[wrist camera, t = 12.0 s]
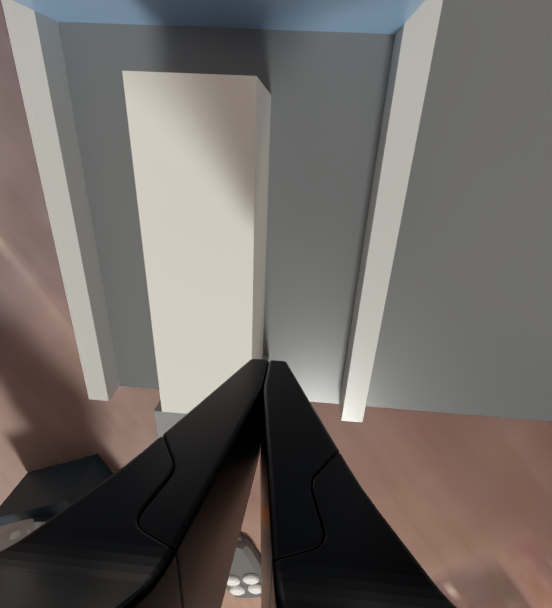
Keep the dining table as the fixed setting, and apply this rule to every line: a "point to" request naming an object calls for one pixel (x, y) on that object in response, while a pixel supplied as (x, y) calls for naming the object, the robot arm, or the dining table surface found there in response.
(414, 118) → the grey rimmed tray
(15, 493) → the bust statue
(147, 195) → the cream rectangular block
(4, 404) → the dining table surface
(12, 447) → the dining table surface
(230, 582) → the key chain
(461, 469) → the dining table surface
